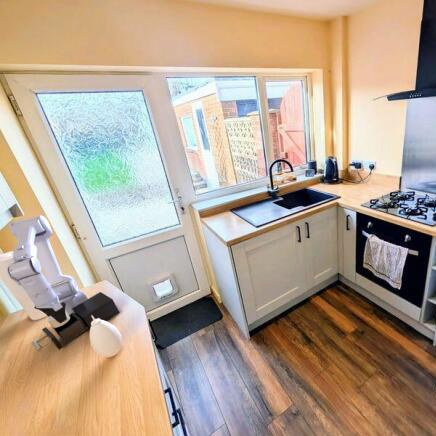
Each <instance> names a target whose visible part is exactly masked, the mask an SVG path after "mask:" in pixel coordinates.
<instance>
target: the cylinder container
mask: <svg viewBox="0 0 436 436" xmlns="http://www.w3.org/2000/svg"><path fill="white" fill-rule="evenodd" d="M12 263H13V250H11V251H7V252H5V253H2V254H0V280H1V281H2V283H3V284H4V285H5V287H6V288H7V289H8V290H9V292H10V293H11V295H12V296H13V297H14V298H15V300H16V301H17V303H18V304H19V305H20V306H21V308H22V309H23V311H24V312H25V313H26V314H27V316H28V317H29V319H30V320H32V321H38V320H41V319H43V318H46V317H48V316H47V315H46V314H45V313H43V312H42V311H40V310H38V309H35V308H34V307H35V304H34V302H33V301H32V300H31V298H30V297H29V295H28V294H27V293H26V291H25V290H24V289H23V287H22V286H21V285H20V286H19V285H18V284H17V283H16V282H15V281H13V280H12V279H11V278H10V276H9V274H8V271H7V268H8V267H9V266H10V265H11V264H12Z"/></svg>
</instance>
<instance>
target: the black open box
mask: <svg viewBox="0 0 436 436" xmlns="http://www.w3.org/2000/svg"><path fill="white" fill-rule="evenodd" d="M69 316H70V319H69V321H68V322H66V323H65V324H64V325H62V326H59V327H56V328H53V327H52V329H53V330H54V332H55V334H57V336H58V337H59V338H60V339H61V340H62V341H63V342H64V343H66V344H68V343H69V342H70V341H72V340H73V339H76V337H78V336H80V335H82V334H83V333H84V332H86V331H87V330H89V329H88V328H87V327H86V325H85V324H84V322H83V320H82V319H81V318H80V317H78V316H77V315H76V314H74V313H71V314H70V315H69ZM41 331H42V332H43V333H44V335H43V336H42V337H40V338H39V339H37V340H33V341H31V344H30V345H32V347H33V348H34V349H35V350H36V351H37V352H41V351H43V349H44V348H45V347H46V346H48V345H49V344H51V343H52V344H53V345H54V347H56V348H57V349H58V350H59V351H60V350H62V349H63V348H64V346H63V344H62V343H61V342H60V341H59V339H58V338H57V336H56V335H55V334H54V333H53V332H52V331H51V330H50V329H49V328H48V327H46V326H45V327H44V328H41ZM46 338H48V340H49V341H47V342H45V343H44V344H42V345H41V344H40V342H41V341H43V340H45V339H46Z"/></svg>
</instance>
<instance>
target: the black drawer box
mask: <svg viewBox="0 0 436 436" xmlns="http://www.w3.org/2000/svg"><path fill="white" fill-rule="evenodd" d="M72 310H73V312H74V313H75V314H76V315H77V316H78V317H80V318H81V319H82V320H83V322H84V324H85V325H86V327H87V328H88V329H87V330H89V331H90V328H91V322H92V321H93V318H92V316H93V317H94V318H95V319H100V320H104V321H107V322H109V321H110V320H111V319H113V318H114V317H116V316H117V315H119V314H120V310H119V309H118V307H117V305H116V303H115V301H114V299H113V298H112V297H110V296H108V295H106V294H105V293H104V292H101V291H99V292H97V293H96V294H94V295H92V296H91V297H89V298H88V299H87V300H86V301H84V302H82V303H80V304H79V305H77V306H75V307H74V308H72Z"/></svg>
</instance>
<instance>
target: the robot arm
mask: <svg viewBox="0 0 436 436" xmlns="http://www.w3.org/2000/svg"><path fill="white" fill-rule="evenodd" d="M8 229H9V232H10V233H11V235H12V236H14V237H15V238H16V240H17V246H15V247H14V249H13V250H12V251H13V263H12V264H11V265H10V266H9V267H8V268H7V271H8V274H9V276H10V278H11V279H12V280H13V281H15V282H16V283H17V284H18V285H19V286H20V285H21V286H22V287H23V289H24V290H25V291H26V293H27V294H28V295H29V297H30V298H31V300H32V301H33V302H34V304H35V307H34V308H35V309H38V310H40V311H42V312H43V313H45V314H46V315H47V316H46V317H47V318H48V317H49V316H51V317H53V318H54V319H55V320H56V321H57V322H59V323H62V322H64V321H65V320H67V317H66V313H65V310H66V312H67V313H68V315H70V314H71V313H74V312H73V310H72V308H74V307H75V306H77V305H79V304H80V303H82V302H84V301H86V300H87V299H89V298H88V297H87V295H86V293H85V292H84V291H82V289H79V286H78V284H77V281H76V280H75V278H74V277H73V276H71V275H67V274H63V272H62V269H61V267H60V264H59V262H58V260H57V257H56V254H55V252H54V250H53V247H52V244H51V241H50V237H51V236H53V230H52V227H51V225H50V223H49V221H48V219H47V217H45V216H44V215H43V214H41V215H38V216H34V217H29V218H25V219H21V220H17V221H11V222H10V223H9V224H8ZM42 270H43V273H44V274H43V273H42ZM74 314H75V313H74Z"/></svg>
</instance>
